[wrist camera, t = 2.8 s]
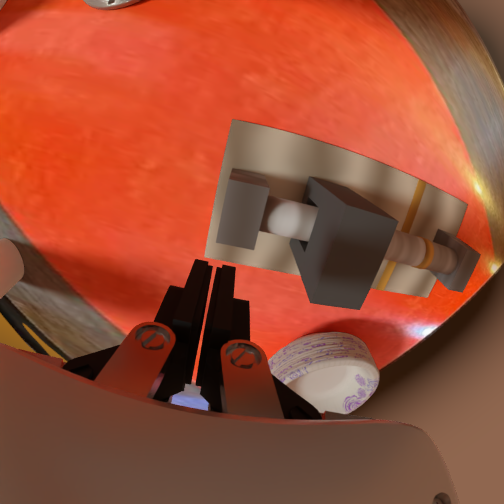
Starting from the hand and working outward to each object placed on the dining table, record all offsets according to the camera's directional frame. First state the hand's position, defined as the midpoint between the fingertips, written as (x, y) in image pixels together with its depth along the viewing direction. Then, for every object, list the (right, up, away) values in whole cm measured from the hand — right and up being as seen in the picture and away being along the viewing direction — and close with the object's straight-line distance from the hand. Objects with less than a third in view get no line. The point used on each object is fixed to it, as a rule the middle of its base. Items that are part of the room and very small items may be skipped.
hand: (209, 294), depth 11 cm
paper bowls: (+10, -13, +25) cm, 30 cm away
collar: (+8, +5, +15) cm, 18 cm away
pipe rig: (+13, +5, +17) cm, 22 cm away
